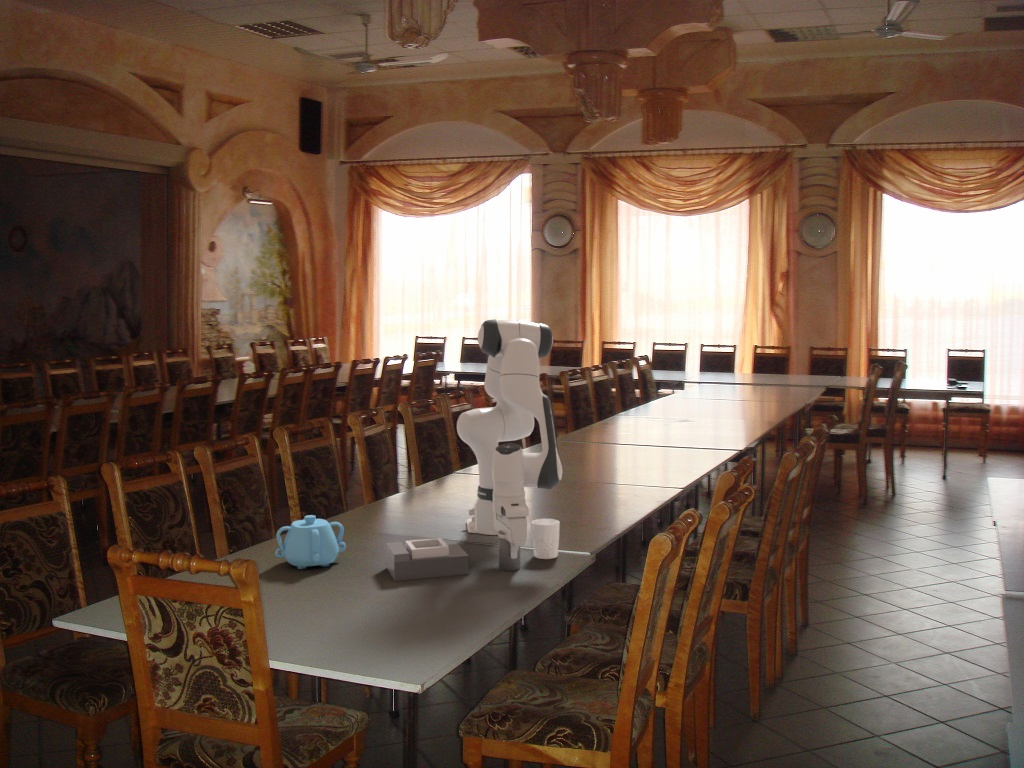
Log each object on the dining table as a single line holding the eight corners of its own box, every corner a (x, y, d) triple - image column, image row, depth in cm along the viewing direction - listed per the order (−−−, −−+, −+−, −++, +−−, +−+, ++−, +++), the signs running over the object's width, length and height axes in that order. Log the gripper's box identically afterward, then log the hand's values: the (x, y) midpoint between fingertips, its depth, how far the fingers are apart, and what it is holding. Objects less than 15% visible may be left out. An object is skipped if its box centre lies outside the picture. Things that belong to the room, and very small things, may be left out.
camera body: (386, 567, 278) (386, 541, 278) (458, 561, 284) (457, 535, 283) (394, 580, 266) (394, 552, 265) (469, 574, 271) (468, 546, 271)
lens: (495, 565, 279) (495, 530, 278) (517, 563, 281) (516, 528, 280) (501, 571, 273) (501, 535, 272) (523, 569, 275) (523, 533, 274)
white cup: (558, 552, 292) (558, 518, 291) (561, 559, 285) (560, 524, 284) (531, 552, 292) (531, 518, 291) (532, 560, 284) (532, 525, 283)
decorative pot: (269, 567, 281) (267, 518, 280) (309, 553, 295) (307, 507, 294) (313, 575, 273) (311, 525, 272) (352, 560, 287) (351, 513, 285)
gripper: (487, 497, 285) (488, 546, 286) (507, 513, 265) (508, 565, 266) (509, 496, 286) (510, 544, 288) (531, 511, 267) (531, 563, 268)
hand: (509, 554), depth 277 cm, fingers closed on lens, 6 cm apart
